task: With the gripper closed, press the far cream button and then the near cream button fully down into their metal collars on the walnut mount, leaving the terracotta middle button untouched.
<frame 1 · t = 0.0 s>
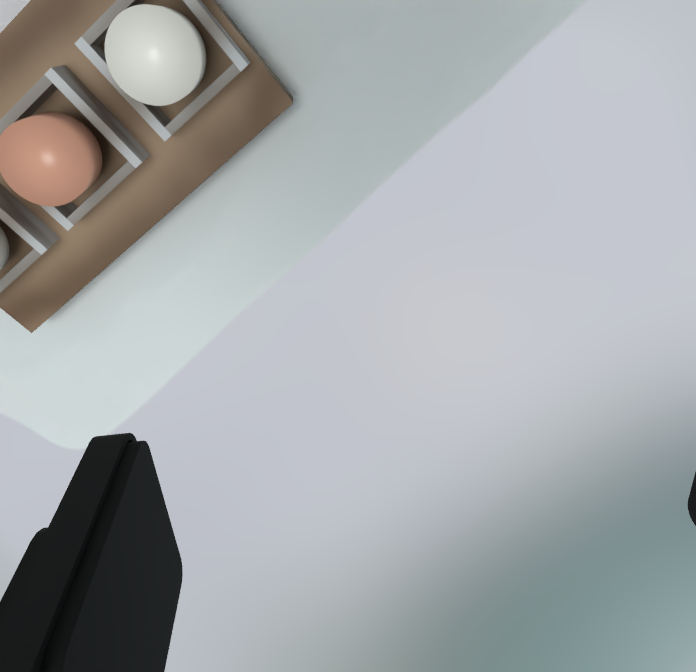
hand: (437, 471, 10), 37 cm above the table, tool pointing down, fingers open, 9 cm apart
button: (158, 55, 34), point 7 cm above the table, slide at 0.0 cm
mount: (86, 139, 42), on the table
middle button: (51, 158, 36), point 7 cm above the table, slide at 0.0 cm
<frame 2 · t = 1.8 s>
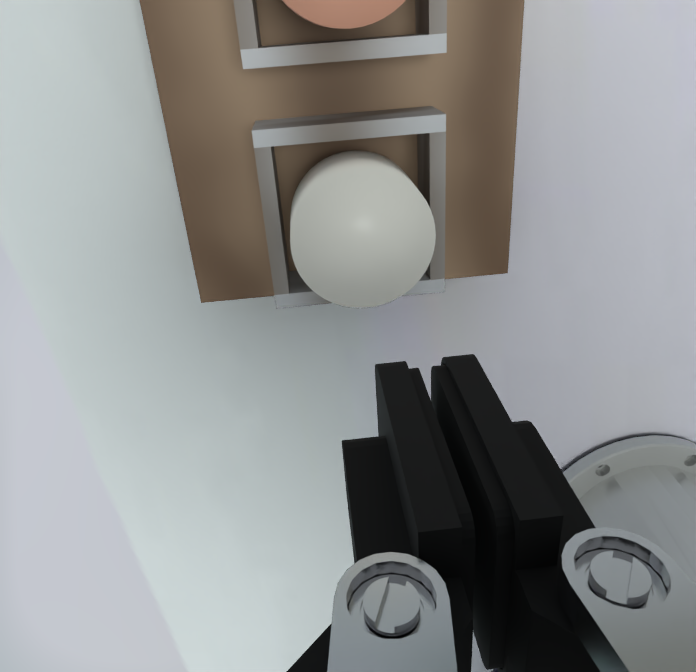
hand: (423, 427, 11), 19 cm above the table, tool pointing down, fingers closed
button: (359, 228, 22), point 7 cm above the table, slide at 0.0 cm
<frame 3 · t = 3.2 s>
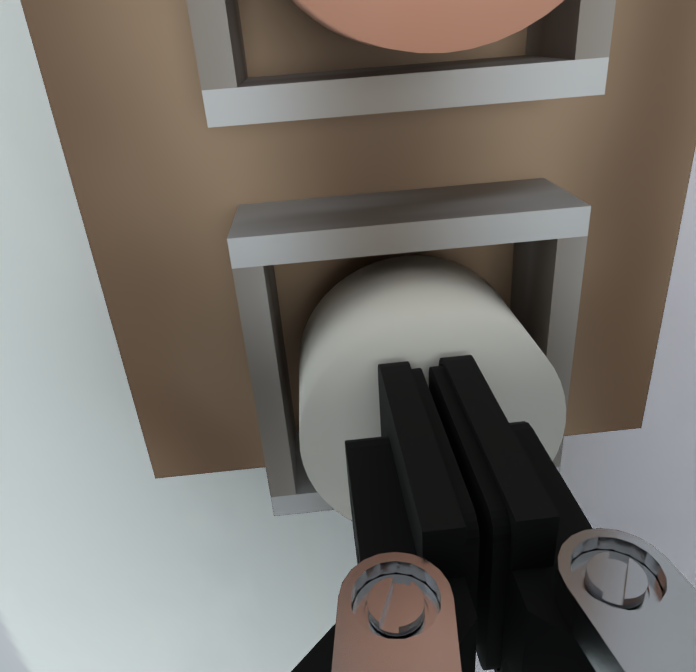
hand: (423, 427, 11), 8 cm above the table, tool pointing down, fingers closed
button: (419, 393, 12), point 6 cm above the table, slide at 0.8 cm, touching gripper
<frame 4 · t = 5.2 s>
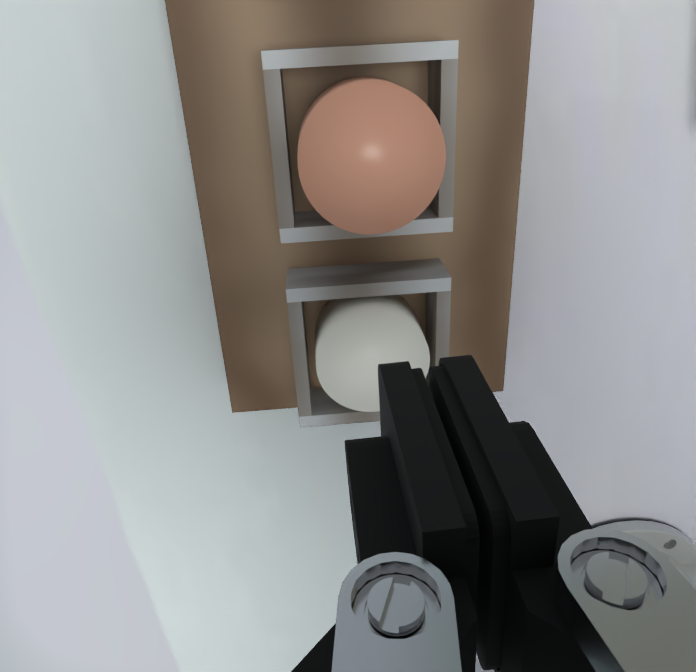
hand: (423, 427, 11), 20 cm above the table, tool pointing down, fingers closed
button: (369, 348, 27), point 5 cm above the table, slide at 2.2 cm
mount: (353, 128, 27), on the table
middle button: (367, 154, 21), point 7 cm above the table, slide at 0.0 cm
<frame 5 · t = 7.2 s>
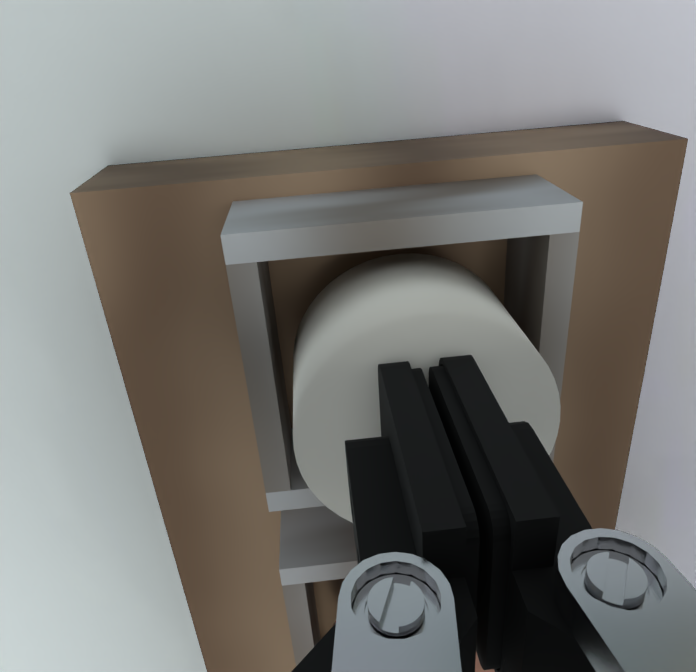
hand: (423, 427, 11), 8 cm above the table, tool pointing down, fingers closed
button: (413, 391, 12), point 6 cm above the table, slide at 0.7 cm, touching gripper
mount: (388, 505, 22), on the table
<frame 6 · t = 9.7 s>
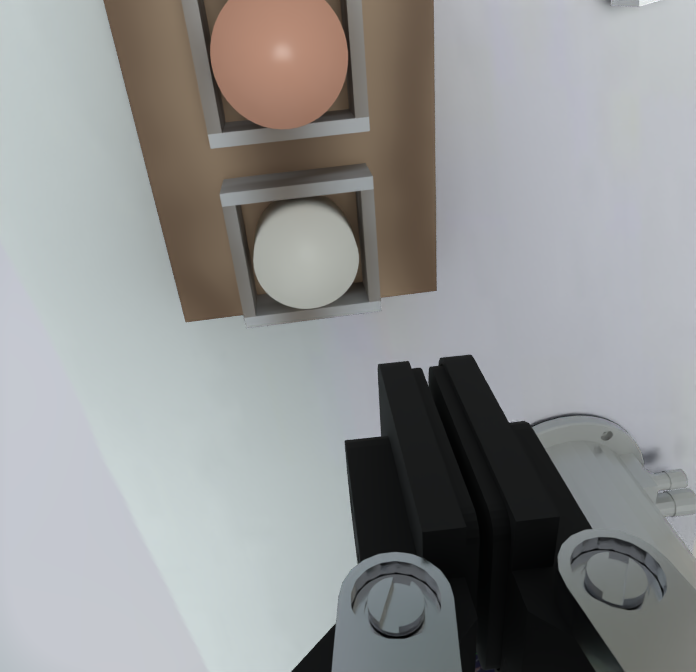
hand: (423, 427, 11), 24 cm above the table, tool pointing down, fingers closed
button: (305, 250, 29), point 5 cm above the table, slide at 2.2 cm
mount: (278, 42, 29), on the table
middle button: (279, 54, 23), point 7 cm above the table, slide at 0.0 cm
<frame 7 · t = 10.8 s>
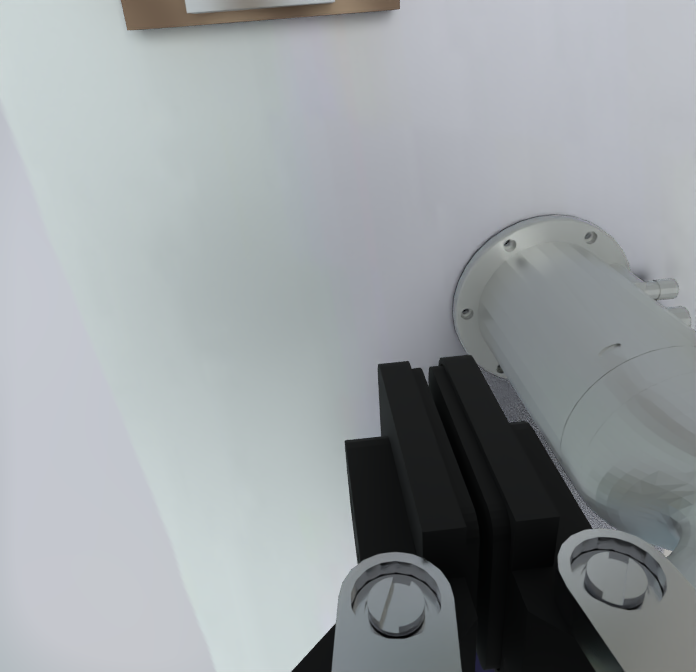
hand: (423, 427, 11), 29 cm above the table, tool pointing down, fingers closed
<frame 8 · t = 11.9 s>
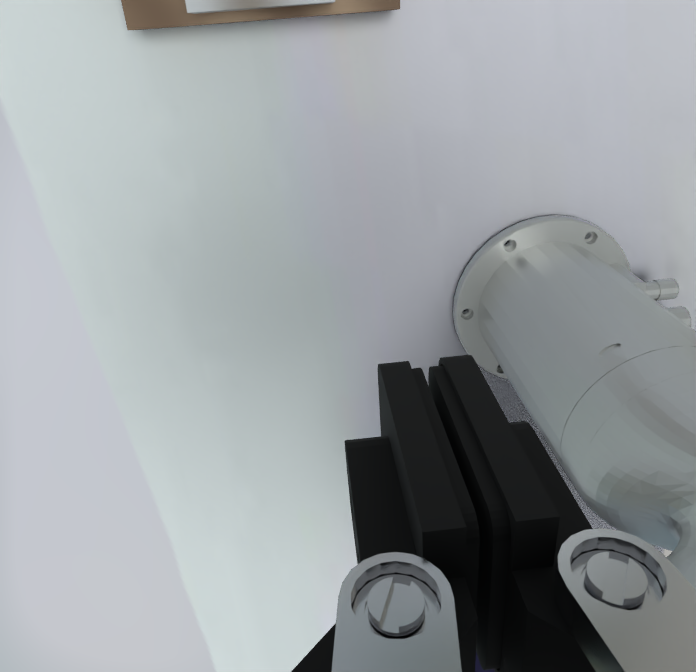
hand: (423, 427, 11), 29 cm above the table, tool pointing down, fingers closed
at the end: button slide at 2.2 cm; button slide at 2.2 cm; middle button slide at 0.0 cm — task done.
